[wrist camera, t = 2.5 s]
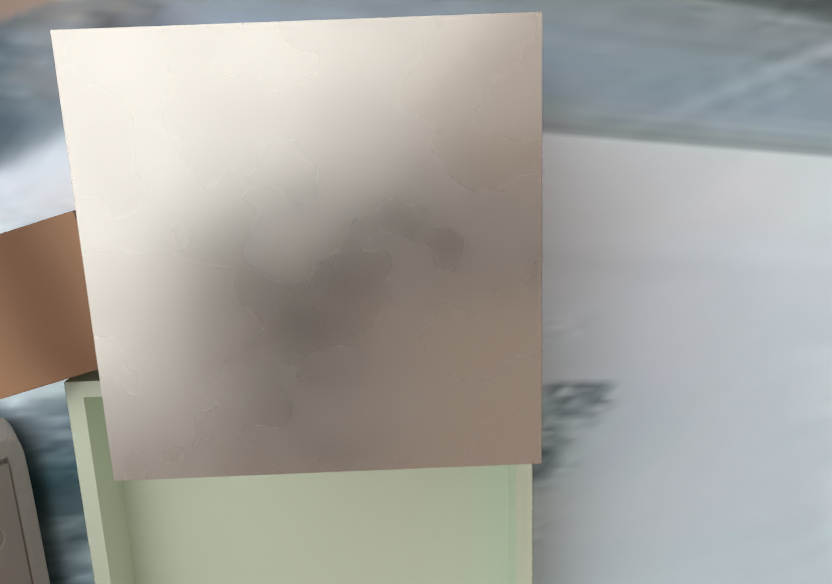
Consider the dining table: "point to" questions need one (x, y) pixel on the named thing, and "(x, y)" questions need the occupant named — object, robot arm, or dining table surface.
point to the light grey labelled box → (311, 241)
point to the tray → (299, 520)
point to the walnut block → (43, 306)
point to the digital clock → (18, 517)
